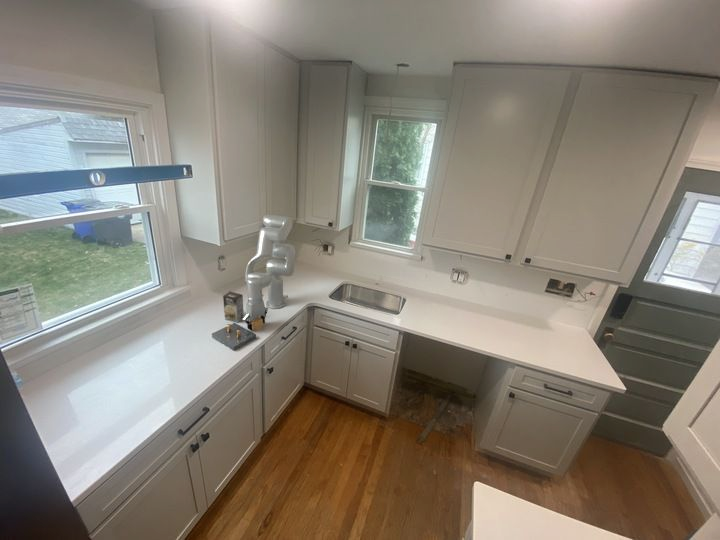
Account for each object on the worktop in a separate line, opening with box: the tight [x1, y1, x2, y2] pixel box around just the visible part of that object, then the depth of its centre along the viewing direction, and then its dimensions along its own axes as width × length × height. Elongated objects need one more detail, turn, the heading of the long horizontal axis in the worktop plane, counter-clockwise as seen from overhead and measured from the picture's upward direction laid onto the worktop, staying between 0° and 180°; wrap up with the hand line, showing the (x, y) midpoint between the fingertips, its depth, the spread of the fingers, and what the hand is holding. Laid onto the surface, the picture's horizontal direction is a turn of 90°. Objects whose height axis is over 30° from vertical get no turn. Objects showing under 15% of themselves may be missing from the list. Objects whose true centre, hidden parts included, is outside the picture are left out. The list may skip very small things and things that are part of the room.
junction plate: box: [211, 322, 257, 351], centre depth 156 cm, size 14×18×6 cm
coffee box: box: [222, 291, 245, 324], centre depth 171 cm, size 9×6×16 cm
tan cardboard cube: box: [251, 317, 264, 332], centre depth 167 cm, size 5×5×6 cm
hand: (256, 325), depth 168 cm, fingers open, 8 cm apart
